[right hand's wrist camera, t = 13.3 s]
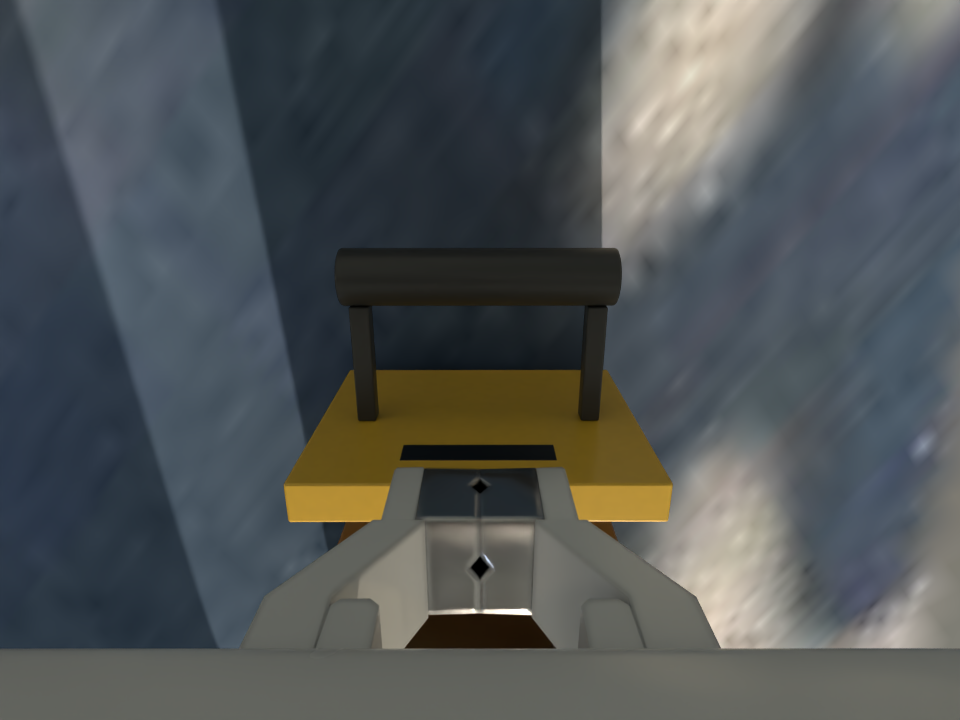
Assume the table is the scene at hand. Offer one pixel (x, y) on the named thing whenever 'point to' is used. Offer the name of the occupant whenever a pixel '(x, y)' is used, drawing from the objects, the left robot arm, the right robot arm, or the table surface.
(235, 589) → the table surface
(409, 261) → the drawer
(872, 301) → the table surface
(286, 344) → the table surface
